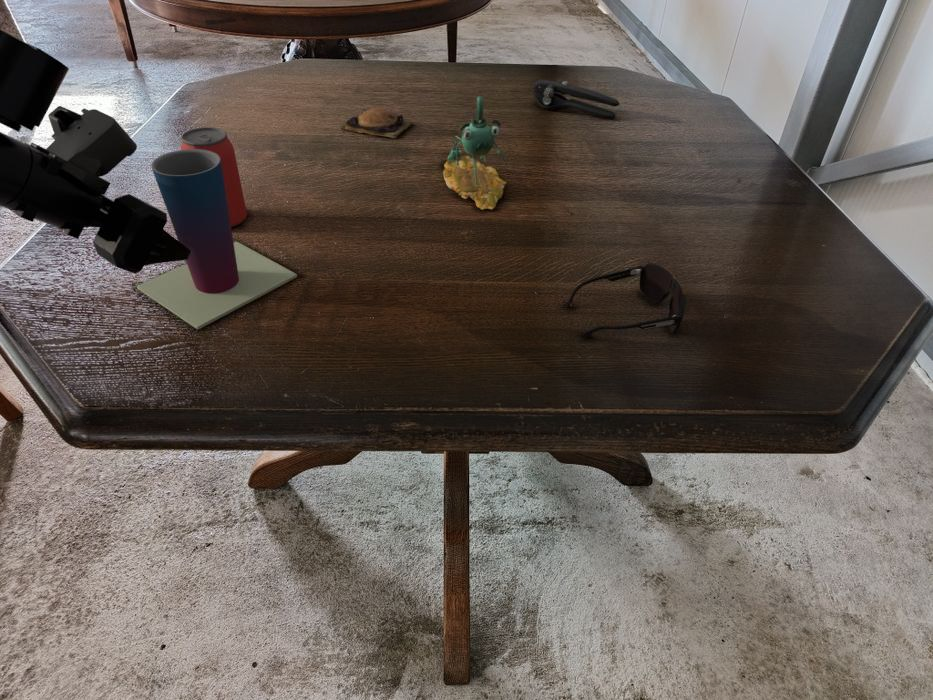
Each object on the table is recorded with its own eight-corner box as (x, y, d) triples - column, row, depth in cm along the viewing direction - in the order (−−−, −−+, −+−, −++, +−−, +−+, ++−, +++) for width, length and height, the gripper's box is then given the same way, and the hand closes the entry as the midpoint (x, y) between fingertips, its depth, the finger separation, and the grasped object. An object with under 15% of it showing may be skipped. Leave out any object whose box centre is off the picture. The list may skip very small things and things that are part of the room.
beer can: (202, 235, 84) (180, 148, 76) (194, 213, 88) (172, 129, 81) (252, 225, 86) (235, 140, 79) (242, 205, 91) (225, 122, 83)
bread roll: (413, 125, 118) (413, 105, 116) (394, 140, 112) (393, 120, 109) (363, 115, 120) (362, 96, 118) (341, 130, 114) (339, 109, 112)
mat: (197, 330, 68) (196, 327, 68) (137, 288, 74) (136, 286, 74) (297, 277, 77) (297, 274, 77) (236, 243, 83) (236, 241, 82)
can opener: (526, 109, 127) (529, 80, 123) (536, 99, 132) (539, 71, 128) (612, 125, 122) (618, 95, 118) (619, 114, 127) (625, 85, 123)
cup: (223, 260, 79) (195, 143, 69) (258, 280, 76) (234, 161, 66) (175, 283, 74) (137, 162, 65) (209, 305, 71) (175, 182, 62)
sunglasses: (691, 339, 71) (698, 303, 67) (591, 360, 69) (593, 325, 66) (651, 286, 79) (656, 253, 75) (560, 305, 77) (561, 271, 74)
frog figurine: (488, 159, 107) (498, 72, 96) (517, 220, 95) (532, 128, 84) (433, 162, 105) (437, 73, 94) (455, 224, 93) (463, 130, 82)
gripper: (112, 117, 49) (253, 200, 63) (4, 66, 57) (149, 149, 71) (47, 243, 49) (201, 298, 63) (-52, 173, 57) (104, 236, 71)
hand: (163, 239), depth 67 cm, fingers open, 9 cm apart
